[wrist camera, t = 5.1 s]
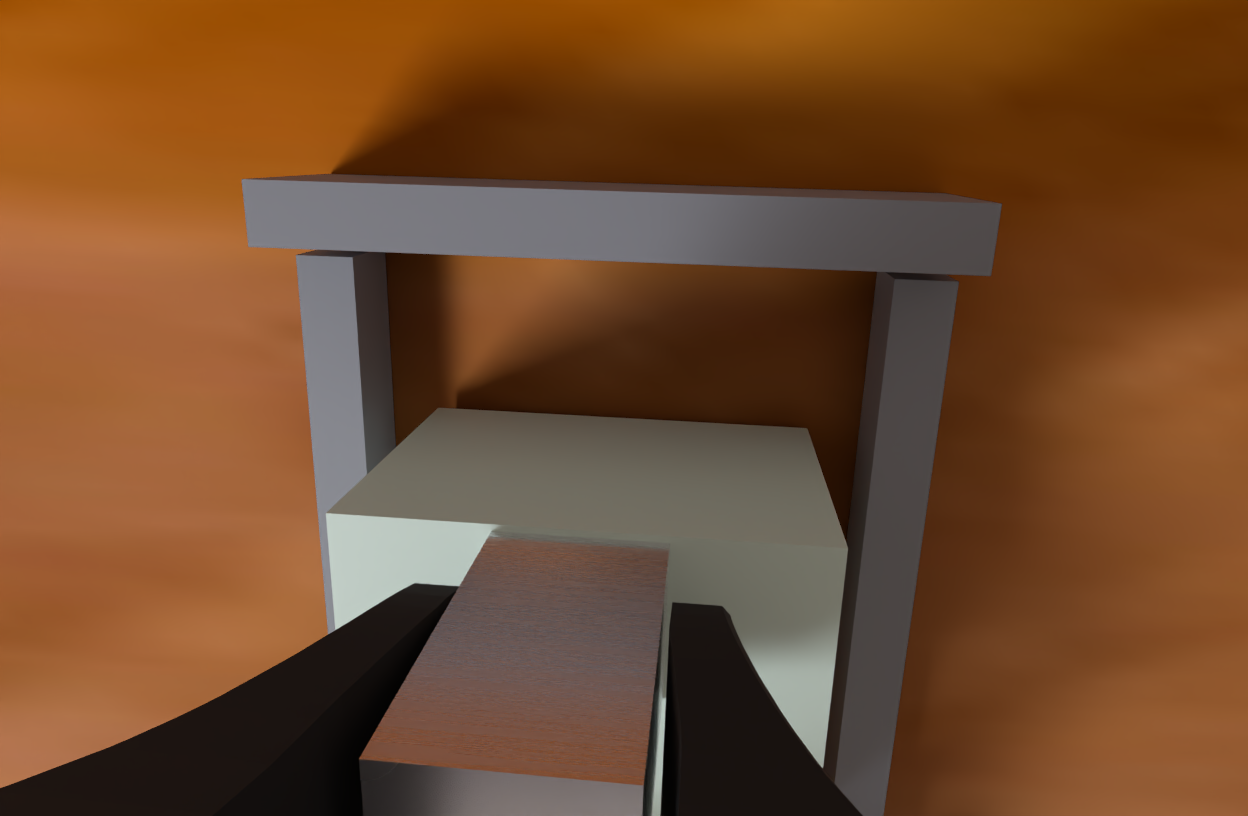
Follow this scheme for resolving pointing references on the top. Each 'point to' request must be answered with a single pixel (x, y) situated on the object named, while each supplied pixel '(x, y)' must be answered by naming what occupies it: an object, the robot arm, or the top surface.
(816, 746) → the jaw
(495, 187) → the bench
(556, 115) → the top surface
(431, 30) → the top surface
